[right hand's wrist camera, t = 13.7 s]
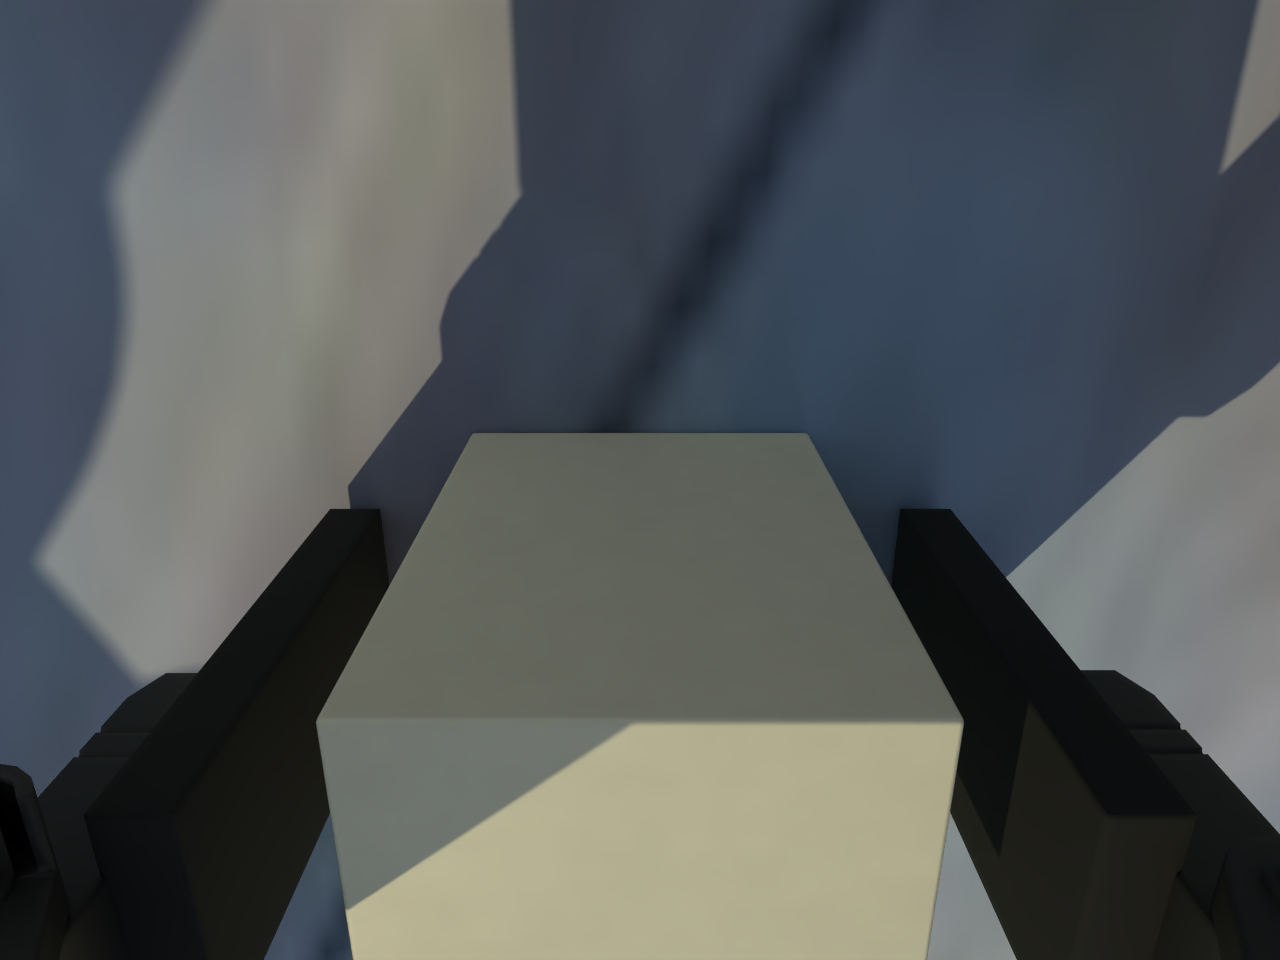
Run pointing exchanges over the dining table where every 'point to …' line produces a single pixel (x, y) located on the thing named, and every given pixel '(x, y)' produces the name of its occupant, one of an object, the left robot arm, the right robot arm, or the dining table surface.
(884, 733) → the cream block
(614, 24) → the dining table surface
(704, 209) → the dining table surface
